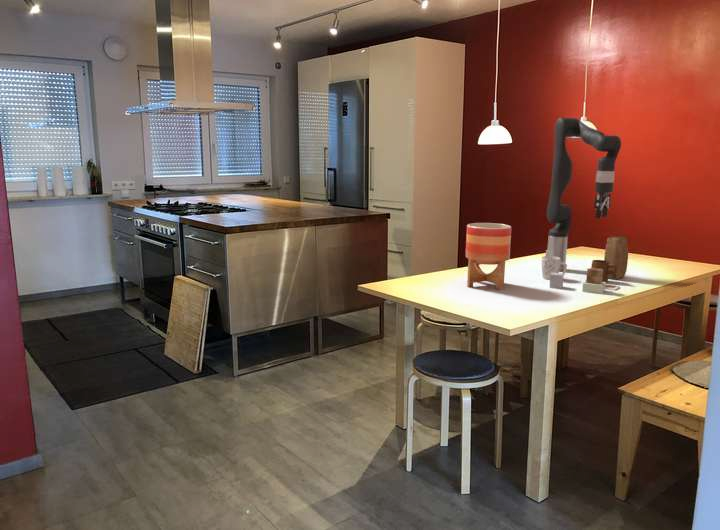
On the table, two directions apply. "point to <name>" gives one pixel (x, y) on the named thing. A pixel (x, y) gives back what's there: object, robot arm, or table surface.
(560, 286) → the grey block
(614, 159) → the robot arm
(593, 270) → the walnut block
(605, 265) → the mug
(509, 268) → the table surface
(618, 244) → the brown tall piece
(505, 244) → the planter
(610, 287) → the tile
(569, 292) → the table surface
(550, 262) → the mug
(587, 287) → the base block
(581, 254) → the table surface
